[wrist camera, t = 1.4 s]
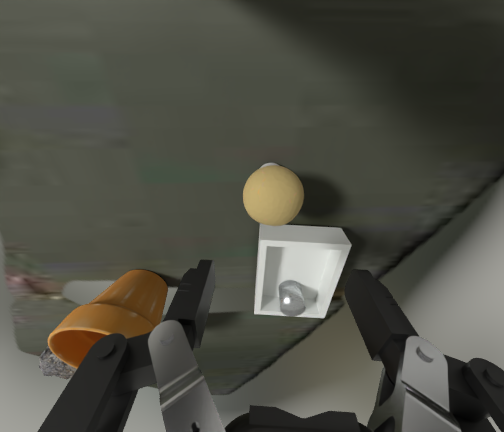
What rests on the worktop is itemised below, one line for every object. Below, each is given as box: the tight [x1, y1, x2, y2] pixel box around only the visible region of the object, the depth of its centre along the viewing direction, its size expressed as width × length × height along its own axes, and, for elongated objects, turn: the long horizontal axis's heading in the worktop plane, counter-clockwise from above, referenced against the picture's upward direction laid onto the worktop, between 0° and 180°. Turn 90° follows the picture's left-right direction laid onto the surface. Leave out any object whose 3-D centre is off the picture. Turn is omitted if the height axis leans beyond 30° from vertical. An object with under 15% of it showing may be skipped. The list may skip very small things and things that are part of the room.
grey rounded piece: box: [278, 280, 306, 316], centre depth 33 cm, size 4×4×4 cm
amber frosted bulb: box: [243, 163, 304, 226], centre depth 23 cm, size 6×6×10 cm
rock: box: [39, 346, 77, 379], centre depth 52 cm, size 13×6×15 cm
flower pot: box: [48, 270, 168, 368], centre depth 34 cm, size 14×14×13 cm
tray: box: [254, 223, 352, 318], centre depth 32 cm, size 16×12×6 cm
